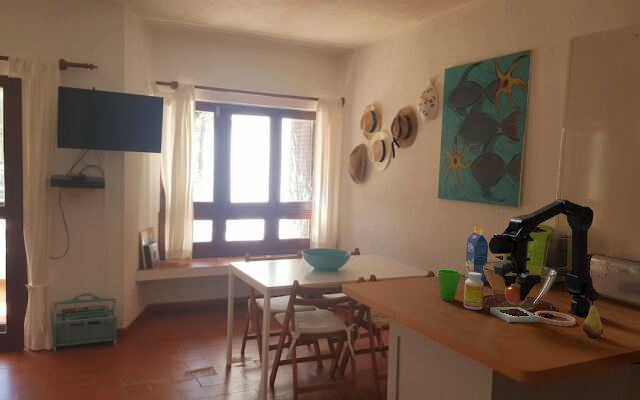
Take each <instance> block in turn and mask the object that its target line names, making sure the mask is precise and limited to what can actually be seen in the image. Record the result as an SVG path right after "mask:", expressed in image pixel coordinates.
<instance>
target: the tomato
mask: <svg viewBox="0 0 640 400" xmlns="http://www.w3.org/2000/svg"><path fill="white" fill-rule="evenodd" d="M517 281H518V280H516V282H515V283H514V284H511V286H508V287H506V286H505V289H504V297H505V300H506V301H507V303H509V304H510V305H513V306H521V305H523V304H524V303H525V302H526V301H527V297H528V296H527V297H526V299H525V300H524V301H521V300H520V285H519V284H518V283H517Z"/></svg>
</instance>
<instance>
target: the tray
mask: <svg viewBox="0 0 640 400" xmlns="http://www.w3.org/2000/svg"><path fill="white" fill-rule="evenodd" d="M509 309H518V310H520V311H523V312H524V313H527V314H528V315H529V316H519V317H518V316H512V315H509V314H506V313H502V312H500V310H509ZM489 313H490V314H492V315H493V316H495V317H498V318H499V319H501V320H503V321H505V322H507V323H509V322H519V323H540V321H539V319H540V317H539V316H537V315H534V313H532V312H530V311H528V310H526V309H524V308H522V307H518V306H517V307H514V306H512V307H509V306H508V307H490V310H489Z"/></svg>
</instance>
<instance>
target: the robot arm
mask: <svg viewBox="0 0 640 400" xmlns="http://www.w3.org/2000/svg"><path fill="white" fill-rule="evenodd" d="M560 214H561V215H564V216H565V217H566V221H567V224H568V225H569V227H570V230H571V270H570V271H569V273H564V274H565V275H564V278H565V279H564V280H565V282H564V285H565V286H566V289H567V292H568V295H569V296H572V299H571V300H570V301H571V302H570V310H567V312H568V313H571V314H573V315H576V316H578V317H583V318H584V317H586V318H587V316H588V314H589V310H590V307H591V304H592V305H594V302H595V301H597V302H598V299H599V296H600V294H599V293H598V292H597V290H596V289H595V287H594V285H593V278H592V276H591V274H590V272H589V270H588V233H589V229H590V228H591V227H592V225H593V222H594V221H593V220H594V217H595V216H594V210H593V208H591V207H589V206H584V205H580V204H577V203H575V202H573V201H570V200H568V199H562V198H561V199H559V198H558V199H555V200H554V201H553V202H550V203H548V204H547V205H545V206H542V207H540V208H538V209H536V210H535V211H532V212H531V213H528V214H522V215H517V216H513V217H512V218H510V219H509V221H508V225H506V227H505V228H504V230H503V231H502V233H501V234H499V233H493V235H492V237H491V239H490V240H489V242H488V250H489V252H490V253H491V254H492V255H506V257H505V260H502V261H499V262H496V263H494V264H493V265H492V267H493V270H494V271H493V272H494V274H495V275H498V276H499V277H500V278H501V279H502V280H503V283H504V286H505V288H506V287H508V286H511V284H514V283H515V282H516V281H517V283H518V284H519V285H520V300H521V301H524V300H525V299H526V300H527V298H526V297H528V295H529V294H530V293H531V290H533V288H534V287H535V286H537V285H538V284H540V285H541V284H542V279H543V278H542V276H541V275H540V274H539V273H538V274H537V273H535V272H530V269H529V268H528V267H527V266H528V262H531V258H530V257H528V251H529V242H535V239H534V238H533V237H532V236H531V235H530V234H532V233H533V232H534V231H536V229H538V226H539V225H541V224H543V223H545V222H546V221H549V220H551V219H553V218H554V217H557V216H558V215H560ZM508 254H509V255H508ZM517 278H518V280H517ZM586 297H587V298H588V300H589V301H590V303H591V304H590V303H589V301H588V300H587V299H586ZM526 300H525V301H526Z"/></svg>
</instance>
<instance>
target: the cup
mask: <svg viewBox="0 0 640 400" xmlns="http://www.w3.org/2000/svg"><path fill="white" fill-rule="evenodd" d="M437 272H438V280H439V291H440V298H441V300H443V301H445V302H447V301H448V302H453V301H455V300H456V295H457V290H458V286H459V283H460V278H461V274H462V272H461V271H459V270H455V269H449V268H448V269H447V268H440V269H437Z"/></svg>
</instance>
